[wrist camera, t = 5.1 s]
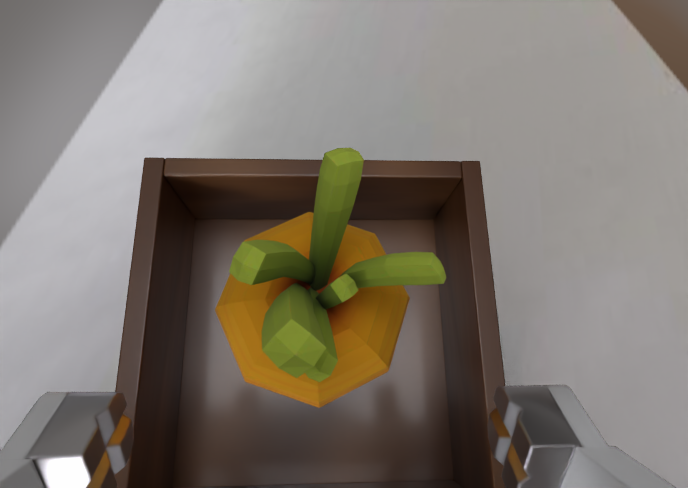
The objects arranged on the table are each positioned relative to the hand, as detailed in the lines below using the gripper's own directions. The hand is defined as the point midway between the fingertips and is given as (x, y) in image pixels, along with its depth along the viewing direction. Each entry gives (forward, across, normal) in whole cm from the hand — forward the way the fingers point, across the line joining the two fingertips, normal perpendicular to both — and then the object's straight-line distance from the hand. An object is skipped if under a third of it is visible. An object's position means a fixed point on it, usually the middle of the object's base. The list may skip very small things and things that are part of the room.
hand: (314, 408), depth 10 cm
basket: (+10, 0, +7) cm, 12 cm away
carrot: (+10, 0, +6) cm, 11 cm away
